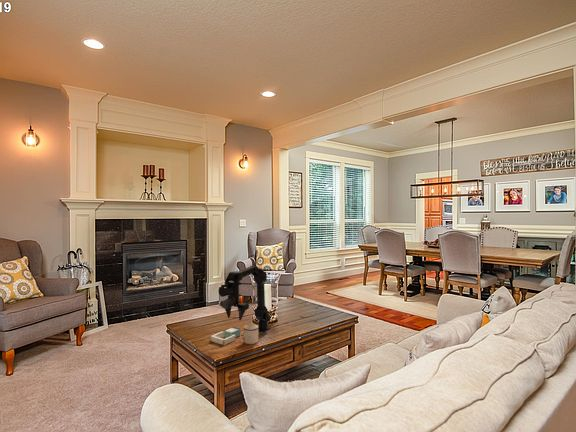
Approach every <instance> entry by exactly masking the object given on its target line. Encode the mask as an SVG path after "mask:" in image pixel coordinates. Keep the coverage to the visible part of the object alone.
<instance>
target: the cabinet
mask: <svg viewBox="0 0 576 432" xmlns="http://www.w3.org/2000/svg"><path fill="white" fill-rule="evenodd" d="M240 333H241V327H239V326H236V325H235V326H234V325H232V326H231V327H230V328H228V329H226V330H224V339H225V338H228V337H230V336H232V335H235V338H237V337H240Z"/></svg>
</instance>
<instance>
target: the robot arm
mask: <svg viewBox="0 0 576 432" xmlns="http://www.w3.org/2000/svg"><path fill="white" fill-rule="evenodd" d="M249 275H252V276H253V280H254V283H255V284H256V299H257V300H256V301H257V306H256V308H254V316H255V319H256V320H257V321H258V327H259V328H258V331H262V332H266V331H268V330H270V329H271V328H270V327H269V322H270V321H271V319H272V316H271V315H270V314H269V311H268V308H267V306H266V296H265V293H266V292H265V284H266V282H267V280H268V279H267V277H268V275H267V272H266V271H264V270H263V269H261V268H260V267H259V266H257V265H250V266H248V267H245V268H243V269H241V270H238V271H236V270H235V271H230V272H228V273H227V276H226V279H225V280H224V283H223V284H221V285H220V287H219V288H218V295H219V296H220V297H222V298H224V297H227V298H225V299H223V300H221V301H220V303H219V307H221V308H223V309H224V310H225V312H226V316H227V318H230V317H231V313H232V312H231V311H232V307H236V308H237V312H238V319H239V321H242V319H243V316H244V314H245V313H246V311H247V310H248V309H250V304H249V303H246V302H242V303H241V300H240V297H241V294H240V286H241V285H242V281H243V278H245V277H248V276H249Z"/></svg>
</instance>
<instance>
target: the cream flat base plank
mask: <svg viewBox="0 0 576 432" xmlns="http://www.w3.org/2000/svg"><path fill="white" fill-rule="evenodd" d="M234 341H236V337H235V335H232V336H230V337H228V338H225V337H224V331H219V332H217V333H216V334H213V335H211V336H210V342H212V343H215V344H219V345H223V346H226V345H228V344H230V343H232V342H234Z"/></svg>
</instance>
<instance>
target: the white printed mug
mask: <svg viewBox="0 0 576 432" xmlns="http://www.w3.org/2000/svg"><path fill="white" fill-rule="evenodd" d="M258 328H259V324H255V323H254V322H252V321H250V322H249V323H247V324H246V325H244V326H243V331H240V336H239V338H240V339H241V340H243V342H244V344H247V345H254V344H257V343H258V342H259V330H258ZM242 335H243V337H242Z"/></svg>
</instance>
